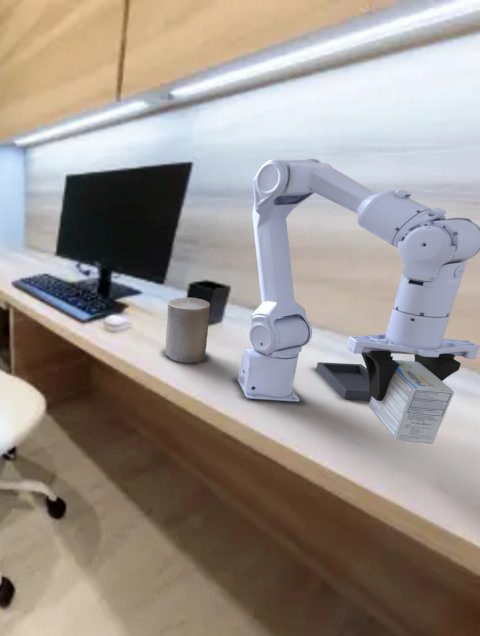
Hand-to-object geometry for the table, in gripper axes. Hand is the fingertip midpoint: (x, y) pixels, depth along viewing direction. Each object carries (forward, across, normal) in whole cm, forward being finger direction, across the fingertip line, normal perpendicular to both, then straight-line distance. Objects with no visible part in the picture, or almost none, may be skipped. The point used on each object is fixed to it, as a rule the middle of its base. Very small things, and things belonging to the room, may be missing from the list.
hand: (395, 398), depth 56 cm
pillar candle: (+10, -25, +34) cm, 43 cm away
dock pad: (+10, +7, +23) cm, 25 cm away
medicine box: (+3, 0, -2) cm, 4 cm away
